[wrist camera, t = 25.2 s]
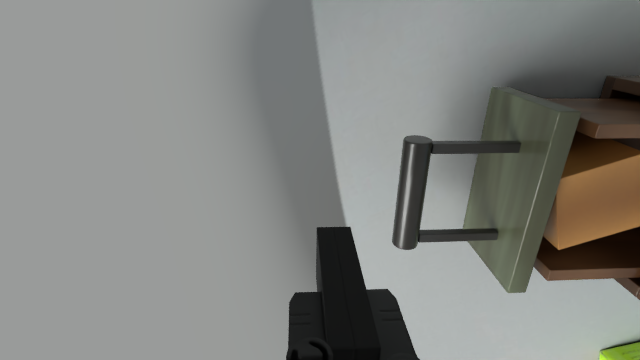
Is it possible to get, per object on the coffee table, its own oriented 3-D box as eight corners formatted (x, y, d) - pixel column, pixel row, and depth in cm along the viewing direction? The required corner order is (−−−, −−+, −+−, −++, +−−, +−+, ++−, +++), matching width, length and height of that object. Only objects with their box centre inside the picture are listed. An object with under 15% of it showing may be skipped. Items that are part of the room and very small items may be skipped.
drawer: (375, 236, 28) (399, 297, 22) (389, 86, 24) (424, 111, 18) (622, 229, 30) (709, 285, 24) (681, 87, 25) (808, 110, 19)
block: (507, 150, 25) (555, 180, 20) (580, 127, 25) (646, 152, 20) (513, 210, 27) (558, 250, 22) (581, 190, 27) (640, 226, 22)
